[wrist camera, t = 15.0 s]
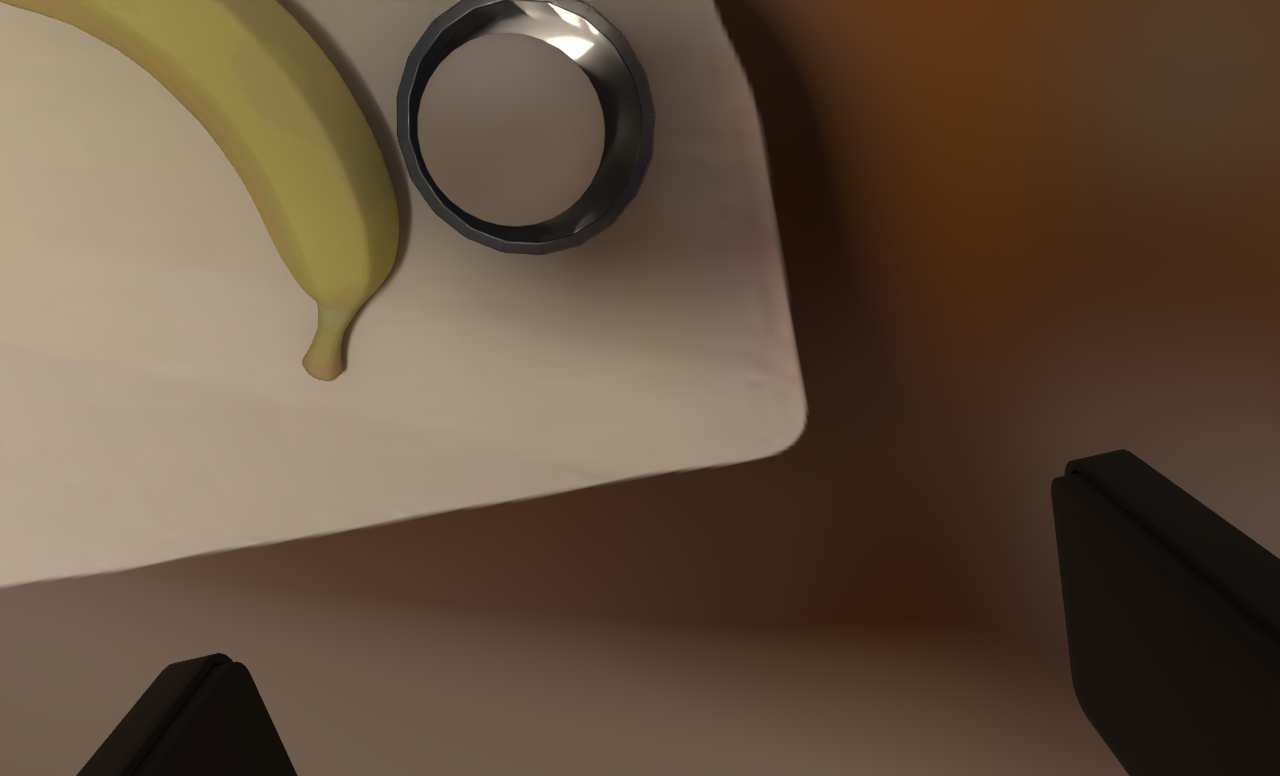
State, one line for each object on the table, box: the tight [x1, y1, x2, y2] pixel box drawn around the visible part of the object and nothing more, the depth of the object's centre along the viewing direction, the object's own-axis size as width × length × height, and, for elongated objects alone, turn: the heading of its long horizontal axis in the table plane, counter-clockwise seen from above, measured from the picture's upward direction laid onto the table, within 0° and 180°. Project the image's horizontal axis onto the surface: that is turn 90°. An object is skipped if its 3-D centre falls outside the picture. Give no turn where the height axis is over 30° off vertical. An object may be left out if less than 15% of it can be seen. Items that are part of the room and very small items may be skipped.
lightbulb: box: [418, 32, 605, 226], centre depth 31 cm, size 6×6×11 cm
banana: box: [0, 0, 399, 381], centre depth 36 cm, size 14×6×20 cm
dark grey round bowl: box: [397, 0, 655, 255], centre depth 35 cm, size 10×10×4 cm
